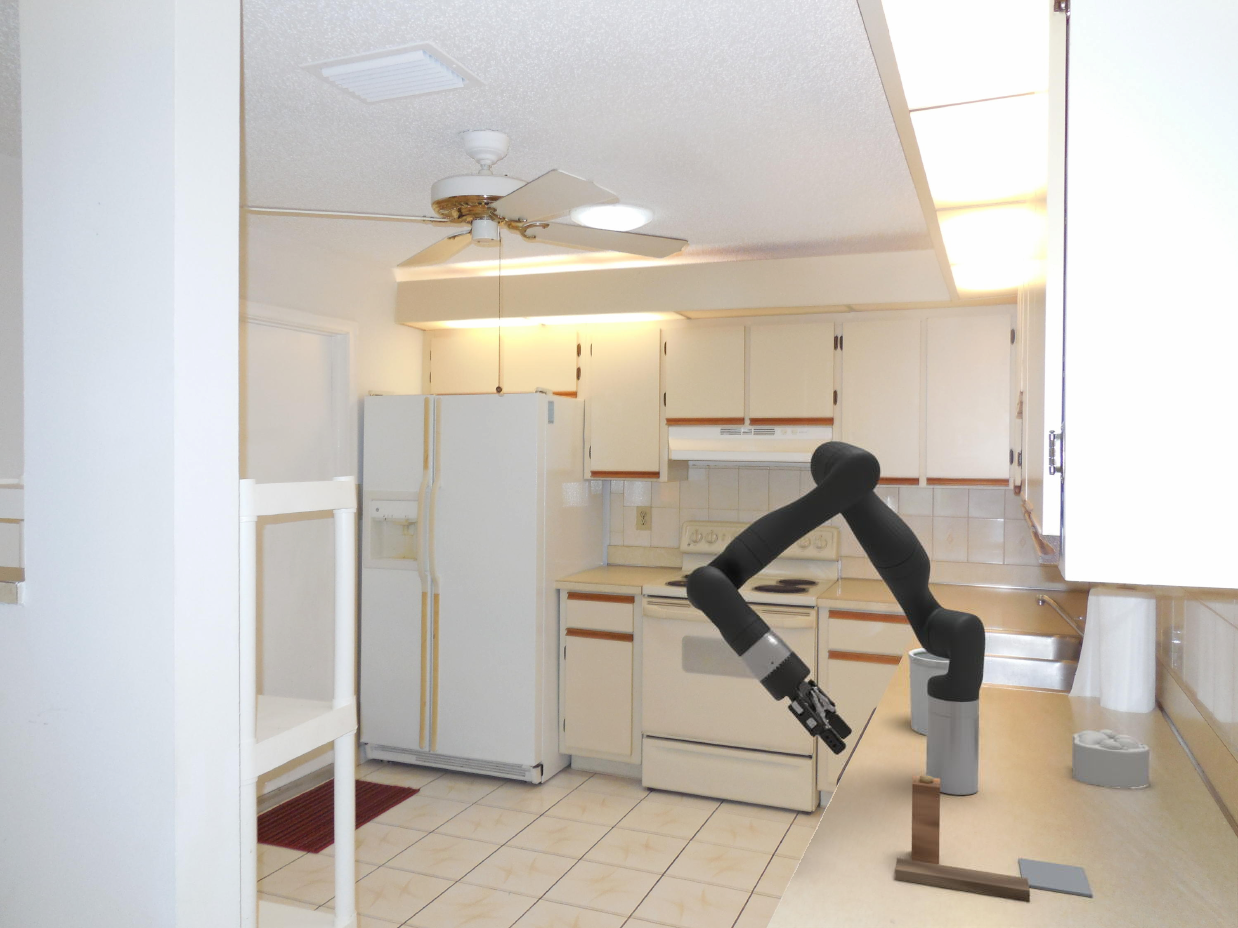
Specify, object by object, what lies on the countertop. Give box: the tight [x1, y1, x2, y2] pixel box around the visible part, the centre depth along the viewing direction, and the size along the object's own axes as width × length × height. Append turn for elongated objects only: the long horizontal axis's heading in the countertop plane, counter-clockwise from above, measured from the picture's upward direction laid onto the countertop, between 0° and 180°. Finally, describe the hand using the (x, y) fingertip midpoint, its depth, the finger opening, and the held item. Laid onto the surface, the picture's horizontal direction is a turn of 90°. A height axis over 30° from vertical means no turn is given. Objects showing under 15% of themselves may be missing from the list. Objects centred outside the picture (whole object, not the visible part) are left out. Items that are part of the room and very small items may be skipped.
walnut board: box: [894, 857, 1031, 902], centre depth 130 cm, size 4×18×2 cm, turn 70°
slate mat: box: [1017, 857, 1094, 898], centre depth 133 cm, size 9×9×1 cm
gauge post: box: [910, 774, 941, 865], centre depth 139 cm, size 4×4×13 cm
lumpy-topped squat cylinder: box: [1071, 728, 1150, 788], centre depth 174 cm, size 10×13×9 cm
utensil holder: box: [908, 647, 949, 736], centre depth 205 cm, size 15×15×18 cm
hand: (845, 742), depth 143 cm, fingers open, 8 cm apart
